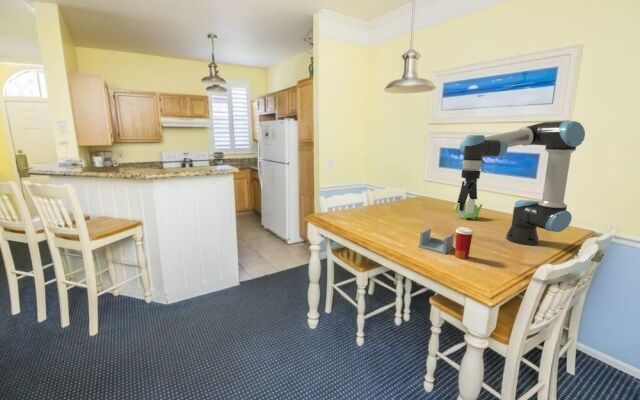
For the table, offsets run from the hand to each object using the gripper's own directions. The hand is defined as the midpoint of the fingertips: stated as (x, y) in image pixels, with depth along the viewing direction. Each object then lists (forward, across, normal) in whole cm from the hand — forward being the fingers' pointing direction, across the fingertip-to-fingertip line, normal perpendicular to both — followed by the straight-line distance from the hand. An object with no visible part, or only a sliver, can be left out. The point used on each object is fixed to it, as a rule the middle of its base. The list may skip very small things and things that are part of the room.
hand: (465, 214), depth 140 cm
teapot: (+21, -79, -21) cm, 85 cm away
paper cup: (+21, 0, 0) cm, 21 cm away
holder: (+21, -4, -14) cm, 26 cm away
